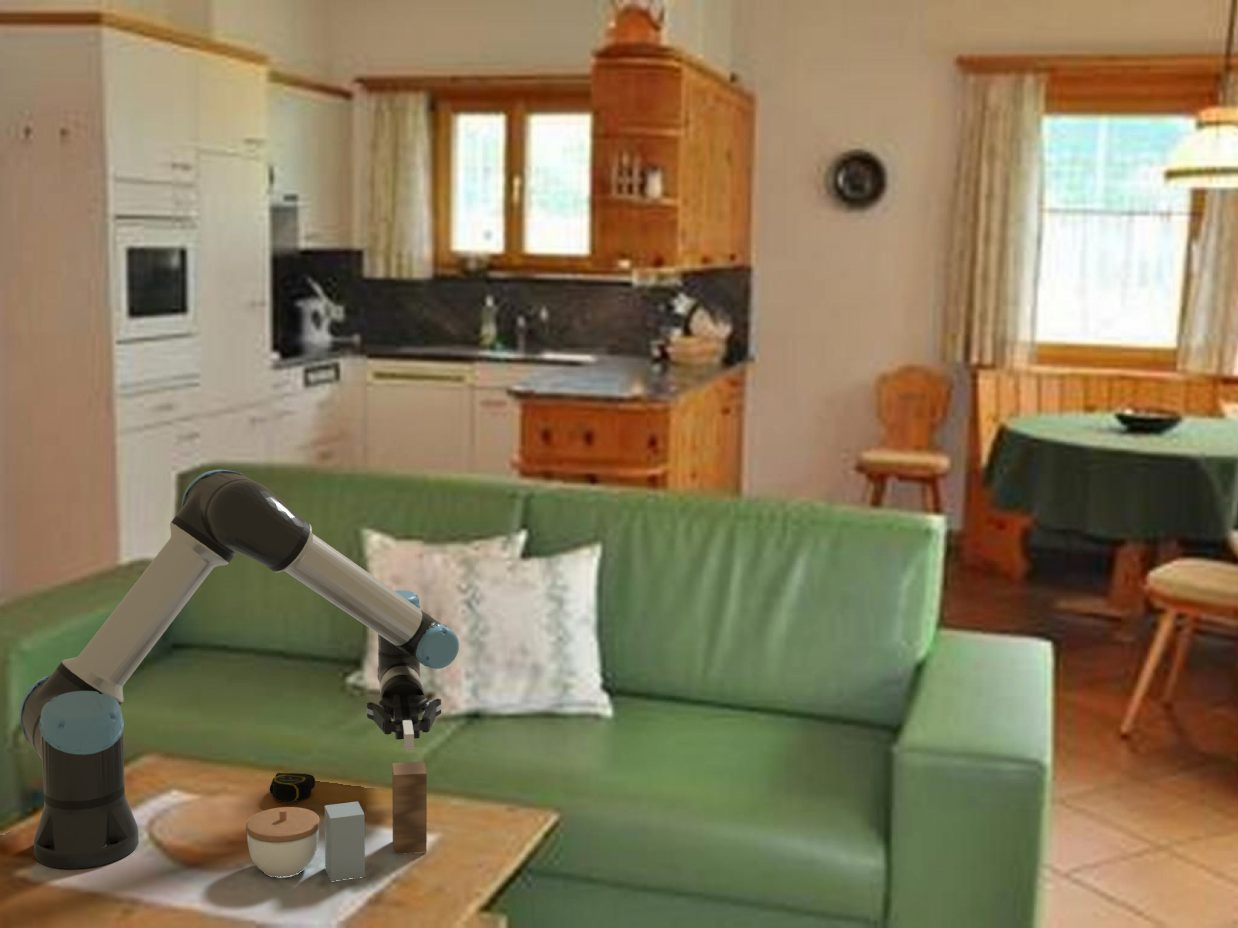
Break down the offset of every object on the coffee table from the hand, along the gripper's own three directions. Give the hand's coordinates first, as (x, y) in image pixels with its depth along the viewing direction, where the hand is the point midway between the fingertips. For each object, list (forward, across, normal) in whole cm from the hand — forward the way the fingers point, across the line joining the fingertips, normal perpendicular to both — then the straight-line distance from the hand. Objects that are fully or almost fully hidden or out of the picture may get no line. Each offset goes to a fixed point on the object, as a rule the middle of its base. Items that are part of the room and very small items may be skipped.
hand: (409, 742), depth 226 cm
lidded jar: (+13, +20, -14) cm, 27 cm away
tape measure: (-15, +19, -15) cm, 29 cm away
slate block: (+15, +11, -14) cm, 23 cm away
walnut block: (+8, +1, -14) cm, 16 cm away
